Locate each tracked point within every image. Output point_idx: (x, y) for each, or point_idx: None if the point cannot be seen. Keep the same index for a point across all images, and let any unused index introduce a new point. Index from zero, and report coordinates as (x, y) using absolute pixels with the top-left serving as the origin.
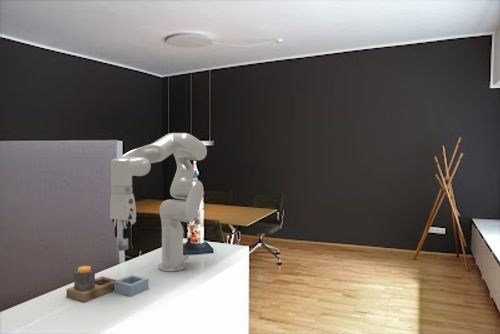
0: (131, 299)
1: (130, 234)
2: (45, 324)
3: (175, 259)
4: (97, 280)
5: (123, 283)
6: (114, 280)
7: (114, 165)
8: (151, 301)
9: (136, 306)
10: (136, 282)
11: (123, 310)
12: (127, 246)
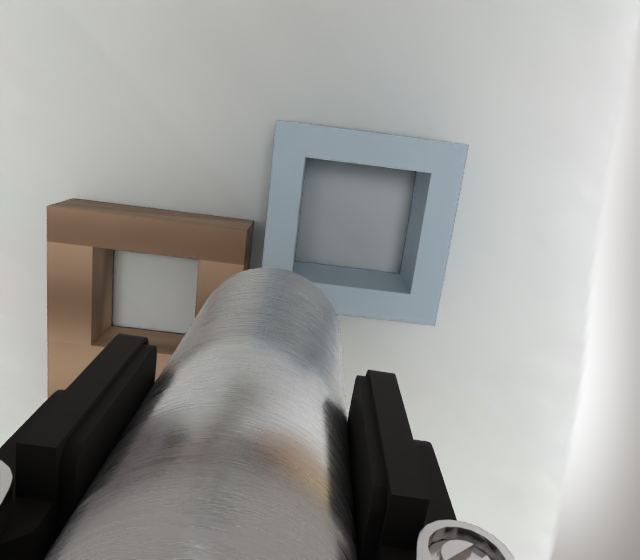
0: (446, 327)
1: (400, 403)
2: None
3: None
4: (91, 291)
5: (349, 307)
6: (204, 239)
7: None
8: (582, 303)
9: (535, 392)
10: (427, 252)
11: (498, 456)
12: (340, 341)
